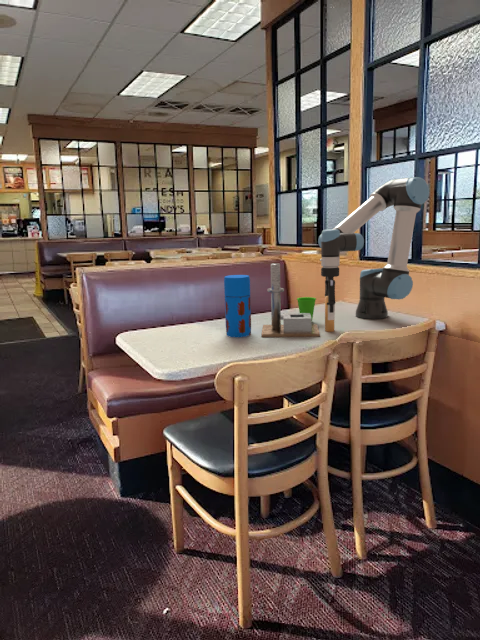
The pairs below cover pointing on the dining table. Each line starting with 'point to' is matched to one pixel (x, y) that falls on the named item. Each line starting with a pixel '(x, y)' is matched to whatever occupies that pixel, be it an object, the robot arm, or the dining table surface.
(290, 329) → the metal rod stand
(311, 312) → the cup
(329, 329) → the pin
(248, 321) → the thermos
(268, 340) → the dining table surface
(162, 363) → the dining table surface
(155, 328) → the dining table surface
